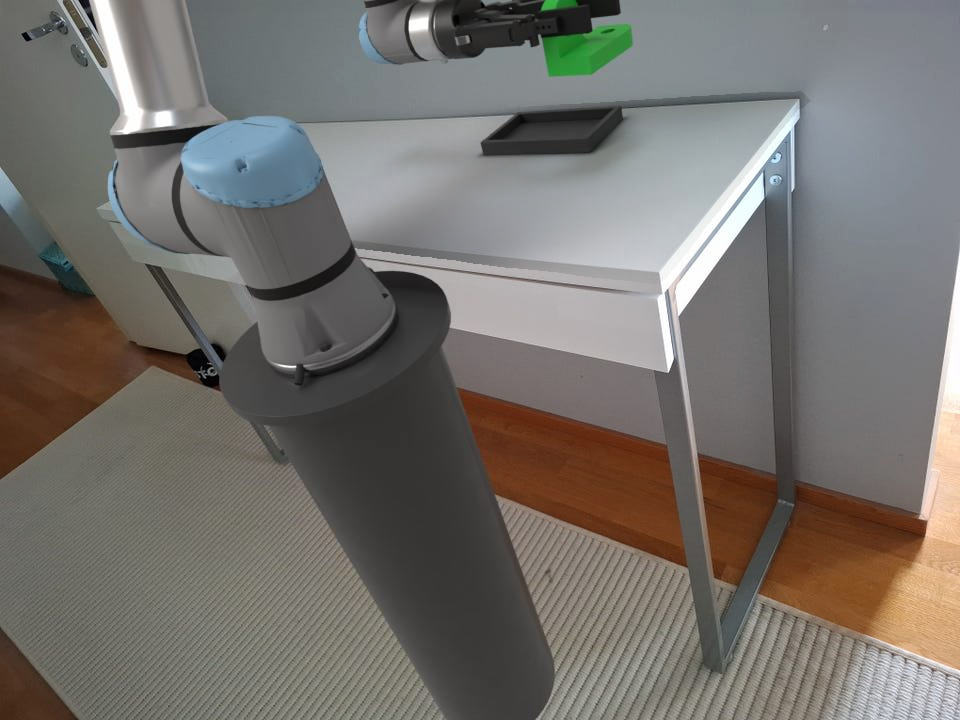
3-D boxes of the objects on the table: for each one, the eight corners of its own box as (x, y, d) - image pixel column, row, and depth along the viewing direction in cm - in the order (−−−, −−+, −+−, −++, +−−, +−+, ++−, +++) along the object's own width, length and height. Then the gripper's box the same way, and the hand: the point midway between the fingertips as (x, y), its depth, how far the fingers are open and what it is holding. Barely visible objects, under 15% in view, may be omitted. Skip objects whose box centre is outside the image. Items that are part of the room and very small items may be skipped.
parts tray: (589, 152, 90) (587, 138, 89) (483, 155, 100) (480, 142, 99) (623, 119, 97) (621, 105, 96) (520, 124, 107) (518, 112, 106)
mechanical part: (591, 74, 76) (580, -2, 72) (548, 76, 80) (535, 4, 75) (641, 39, 82) (634, -33, 78) (600, 42, 86) (590, -26, 82)
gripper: (499, 35, 95) (646, 19, 81) (414, 83, 85) (564, 75, 71) (486, -24, 91) (640, -51, 76) (395, 20, 81) (551, -2, 66)
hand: (603, 10), depth 74 cm, fingers closed on mechanical part, 5 cm apart
